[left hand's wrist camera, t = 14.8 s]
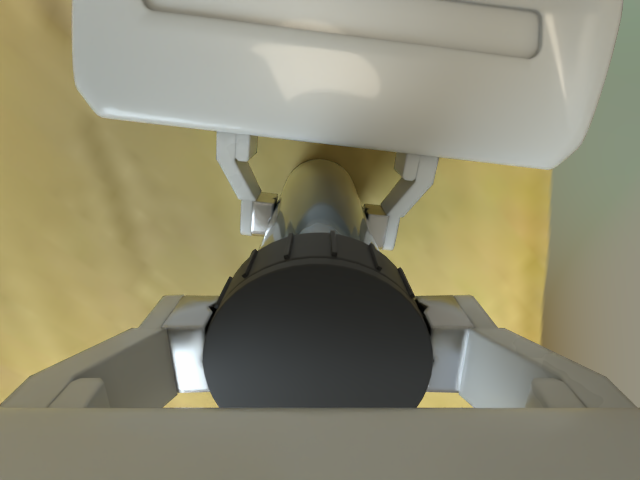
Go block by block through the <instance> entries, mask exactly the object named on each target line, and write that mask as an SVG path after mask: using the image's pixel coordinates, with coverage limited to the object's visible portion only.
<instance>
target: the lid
mask: <svg viewBox="0 0 640 480" xmlns="http://www.w3.org/2000/svg"><path fill="white" fill-rule="evenodd" d="M414 298H415V295H414V293H413V291H412V289H411V287H410V285H409V283H408V281H407V279H406V276H405V274H404V272H403V270H402V269H401V267H400V268H398V269H397V268H396V266H395V265H394V264H393V263H392V262H391V261H390V260H389V259H388V258H387V257H386V256H385V255H383V254H382V253H381V252H379V251H378V250H377V249H375V246H374V244H372V243H370V244H369V245H368V244H366V243H364V242H362V241H359V240H357V239H354V238H351V237H347V236H343V235H340V234H335V231H332V230H331V232H330V233H304V234H297V235H293V233H289V234H288V237H285V238H282V239H280V240H277V241H275V242H272V243H270V244H268V245H267V246H265V247H263V248H261V249H260V250H258V251H257V250H256V249H255V250H253V251H252V253H251V255H250V257H249V258H248V259H247V260H246V261H245V262H244V263H243V264H242V265H241V267H240V268H239V269H238V271H237V272H236V273H235V275H234V277H233V278H232V277H229V279H228V280H227V282H226V284H225V286H224V288H223V290H222V292H221V294H220V296H219V298H218V300H217V302H216V304H215V306H214V308H216V309H217V310H216V312H215V315H214V317H213V319H212V321H211V323H210V325H209V328H208V330H207V333H206V336H205V340H204V346H203V360H202V362H203V369H204V375H205V379H206V382H207V386H208V388H209V390H210V392H211V395H212V397H213V398H214V400H215V402H216V403H217V405H218V406H219V408H417V406H418V405H419V403H420V402H421V400H422V399H423V397H424V394H425V392H426V390H427V388H428V385H429V382H430V378H431V375H432V368H433V348H432V343H431V337H430V335H429V332H428V328H427V326H426V324H425V322H424V320H423V314H422V312H421V310H420V309H418V307H417V304H416V302H415V300H414Z"/></svg>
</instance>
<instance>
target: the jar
mask: <svg viewBox="0 0 640 480" xmlns="http://www.w3.org/2000/svg"><path fill="white" fill-rule="evenodd" d="M331 230H332V231H335V234H340V235H343V236H347V237H351V238H354V239H357V240H359V241H362V242H364V243H366V244H368V245H369V244H370V243H372V244H374V246H375V249H377V250H378V251H379V249H378V246H377V244H376V241H375V239H374V236H373V233H372V231H371V228H370V225H369V223H368V220H367V218H366V215H365V212H364V210H363V207H362V204H361V202H360V199H359V196H358V194H357V191H356V189H355V186H354V183H353V181H352V179H351V177H350V175H349V174H348V172H347V171H346V170H345V169H344V168H343V167H341V166H340V165H338V164H337V163H334V162H332V161H329V160H324V159H315V160H310V161H307V162H304V163H302V164H301V165H299V166H298V167H296V168H295V169H294V170H293V171H292V172H291V174H290V175H289V177H288V178H287V180H286V183H285V185H284V188H283V190H282V193H281V195H280V198H279V200H278V203H277V205H276V208H275V210H274V213H273V215H272V218H271V220H270V223H269V225H268V228H267V230H266V233H265V235H264V238H263V240H262V243H261V245H260V247H259V250H260V249H261V248H263V247H265V246H267V245H268V244H270V243H272V242H275V241H277V240H280V239H282V238H285V237H288V234H289V233H293V235H297V234H304V233H330V232H331Z"/></svg>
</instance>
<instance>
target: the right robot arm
mask: <svg viewBox="0 0 640 480" xmlns="http://www.w3.org/2000/svg"><path fill="white" fill-rule="evenodd" d="M622 9H623V0H72V58H73V73H74V81H75V85H76V88H77V90H78V91H79V93H80V94H81V95H82V97H83V98H84V99H85V101H86V102H87V103H88V105H89V106H90V107H91V109H92V110H93V111H94V112H95V113H96V114H97V115H98V116H100V117H102V118H108V119H116V120H124V121H133V122H141V123H150V124H159V125H167V126H176V127H184V128H193V129H201V130H210V131H217V153H216V159H217V161H218V163H219V165H220V166H221V168H222V170H223V172H224V174H225V175H226V177H227V179H228V181H229V183H230V185H231V186H232V188H233V190H234V192H235V194H236V196H237V197H238V199H241V222H240V232H241V234H242V235H249V236H263V237H264V235H265V233H266V230H267V228H268V225H269V223H270V220H271V218H272V215H273V213H274V210H275V208H276V205H277V200H278V194H272V193H265V192H261V189H260V187H259V185H258V183H257V180H256V178H255V176H254V174H253V172H252V170H251V168H250V166H249V164H248V160H249V159H250V158H251V157H252V156H254V155H255V154H256V153H257V141H258V136H262V137H270V138H279V139H287V140H296V141H304V142H313V143H322V144H330V145H339V146H347V147H356V148H364V149H373V150H382V151H390V152H396V158H395V164H394V169H395V171H396V172H397V173H398V174H399V175H400V176H401V177H402V178H401V179H400V180H399V181H398V183H397V184H396V185H395V186H394V188H393V189H392V190H391V191H390V193H389V194H388V195H387V197H386V198H385V199H384V200H383V202H382V203H381V205H372V204H364V208H363V210H364V212H365V215H366V218H367V220H368V223H369V225H370V228H371V231H372V233H373V236H374V239H375V241H376V244H377V246H378V249H382V250H391V251H392V250H393V248H394V246H395V241H396V236H397V231H398V226H399V221H400V217H404V216H405V214H406V213H407V212H408V211H409V210H410V209H411V208H412V207H413V206H414V204H415V203H416V202H417V201H418V200H419V199H420V198H421V197H422V196H423V194H424V193H425V192H426V191H427V190H428V189H429V188H430V187H431V186H432V184H433V182H434V177H435V173H436V169H437V164H438V160H439V157H442V158H450V159H459V160H467V161H476V162H485V163H493V164H502V165H510V166H519V167H528V168H536V169H545V170H549V169H553V168H555V167H557V166H558V165H559V164H561V163H562V162H563V161H564V160H565V159H567V158H568V157H569V156H570V155H571V154H572V153H574V152H575V151H576V150H577V149H578V148H579V147H580V145H581V144H582V142H583V140H584V138H585V137H586V134H587V132H588V129H589V127H590V124H591V122H592V119H593V116H594V113H595V110H596V107H597V104H598V101H599V98H600V95H601V92H602V88H603V85H604V82H605V79H606V75H607V72H608V68H609V65H610V61H611V58H612V54H613V50H614V46H615V42H616V38H617V34H618V30H619V25H620V20H621V15H622Z"/></svg>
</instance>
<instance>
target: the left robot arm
mask: <svg viewBox="0 0 640 480" xmlns="http://www.w3.org/2000/svg"><path fill="white" fill-rule="evenodd" d="M218 298H219V296H197V295H166V296H163V297H162V298H161V300H160V301H159V302H158V303H157V305H156V306H155V307H154V308H153V310H152V311H151V312H150V313H149V315H148V316H147V317H146V319H145V320H144V321H143V322H142V324H141V325H140V326H139V327H138V328H131V329H129V330H127V331H125V332H123V333H120V334H118V335H116V336H114V337H112V338H110V339H108V340H106V341H103V342H101V343H99V344H97V345H95V346H93V347H91V348H89V349H87V350H84V351H82V352H80V353H78V354H76V355H74V356H72V357H70V358H67V359H65V360H63V361H61V362H59V363H57V364H55V365H53V366H51V367H48V368H46V369H44V370H42V371H40V372H38V373H36V374H34V375H31V376H29V377H28V378H27V379H26V380H25V381H24V382H23V383H22V384H21V385H20V386H19V387H18V388H17V389H16V390H15V391H14V392H13V393H12V394H11V395H10V396H9V397H8V398H6V399H5V400H4V401H3V402H2V403H1V404H0V480H640V408H637V407H636V406H635V405H634V404H633V403H632V402H631V401H630V400H629V399H628V398H627V397H626V396H625V395H624V394H623V393H622V392H621V391H620V390H619V389H618V388H617V387H616V386H615V385H614V384H613V383H612V382H611V381H610V380H609V379H608V378H607V377H605V376H603V375H601V374H599V373H597V372H595V371H593V370H591V369H589V368H586V367H584V366H582V365H580V364H578V363H576V362H574V361H572V360H570V359H568V358H566V357H563V356H561V355H559V354H557V353H555V352H553V351H551V350H549V349H547V348H545V347H543V346H540V345H538V344H536V343H534V342H532V341H530V340H528V339H526V338H524V337H522V336H520V335H517V334H515V333H513V332H511V331H509V330H507V329H505V328H498V327H497V326H496V325H495V324H494V322H493V321H492V320H491V318H490V317H489V316H488V315H487V313H486V312H485V311H484V309H483V308H482V307H481V306H480V304H479V303H478V302H477V301H476V299H475V298H474V297H473V296H471V295H454V296H453V295H442V296H415V298H414V300H415V302H416V304H417V307H418V309H420V310H421V312H422V314H423V320H424V322H425V324H426V326H427V328H428V332H429V335H430V337H431V343H432V348H433V368H432V375H431V378H430V382H429V385H428V388H427V390H426V392H451V393H459V395H460V396H461V397H462V398H464V399H465V400H466V401H467V402H468V403H469V404H470V405H471V406H473V407H474V408H163V407H164V406H165V405H166V404H167V403H168V402H169V401H171V400H172V399H173V398H174V397H175V396H176V395H177V393H185V392H210V390H209V388H208V386H207V382H206V379H205V375H204V369H203V362H202V360H203V346H204V340H205V336H206V333H207V330H208V328H209V325H210V323H211V321H212V319H213V317H214V315H215V312H216V310H217V309H216V308H214V306H215V304H216V302H217V300H218Z"/></svg>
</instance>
